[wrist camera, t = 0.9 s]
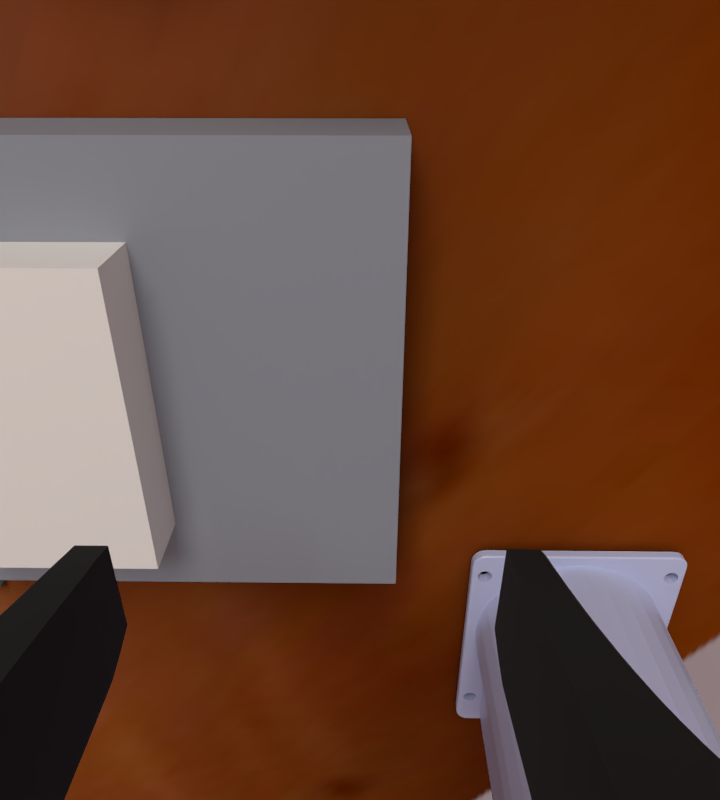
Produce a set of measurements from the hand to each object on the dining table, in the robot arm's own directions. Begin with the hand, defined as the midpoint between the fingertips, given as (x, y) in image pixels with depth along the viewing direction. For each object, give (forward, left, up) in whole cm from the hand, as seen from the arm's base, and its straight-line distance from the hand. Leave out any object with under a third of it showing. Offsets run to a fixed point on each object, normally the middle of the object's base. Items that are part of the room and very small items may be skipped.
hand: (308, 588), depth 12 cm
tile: (0, +8, -7) cm, 11 cm away
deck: (0, +5, -10) cm, 12 cm away
